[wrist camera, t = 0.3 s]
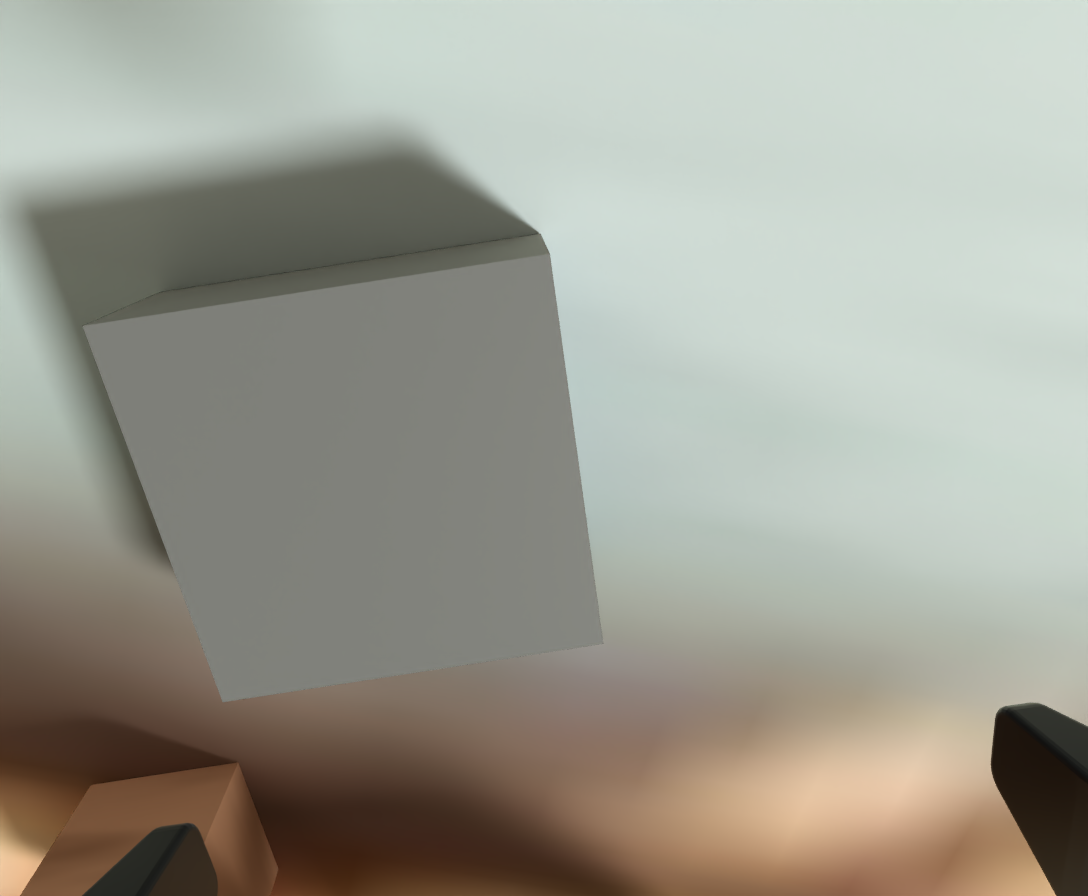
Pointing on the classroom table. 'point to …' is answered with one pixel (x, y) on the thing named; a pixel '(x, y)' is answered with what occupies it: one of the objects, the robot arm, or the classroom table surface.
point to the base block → (361, 464)
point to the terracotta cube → (148, 803)
